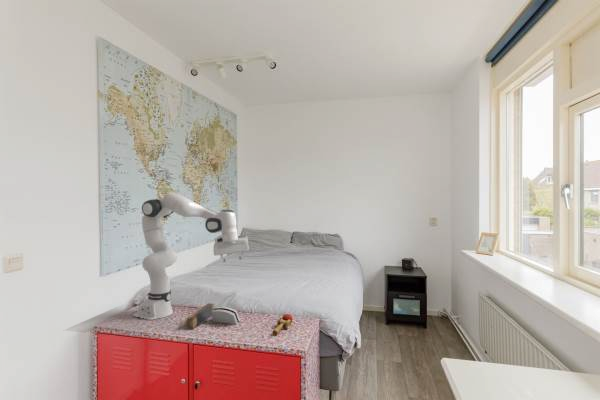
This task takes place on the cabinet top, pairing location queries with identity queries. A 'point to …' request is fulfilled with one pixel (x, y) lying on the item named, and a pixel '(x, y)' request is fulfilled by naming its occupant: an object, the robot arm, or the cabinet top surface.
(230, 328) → the cabinet top surface
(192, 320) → the frame block
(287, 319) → the kendama
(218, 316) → the grey rounded case
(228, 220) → the robot arm
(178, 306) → the cabinet top surface
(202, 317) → the mounting plate
